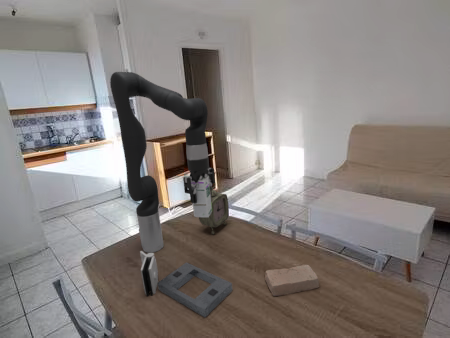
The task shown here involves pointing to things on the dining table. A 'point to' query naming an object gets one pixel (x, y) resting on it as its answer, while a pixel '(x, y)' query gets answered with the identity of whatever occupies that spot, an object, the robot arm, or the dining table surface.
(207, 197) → the syrup box
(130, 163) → the robot arm
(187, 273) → the rail plate
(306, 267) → the brick
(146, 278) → the hinge
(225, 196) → the tabletop clock
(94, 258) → the dining table surface
